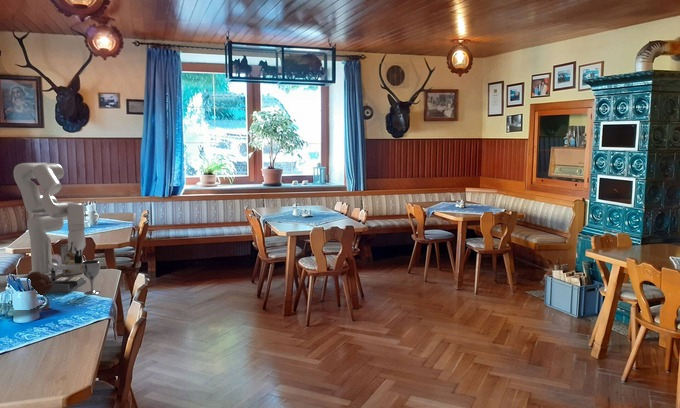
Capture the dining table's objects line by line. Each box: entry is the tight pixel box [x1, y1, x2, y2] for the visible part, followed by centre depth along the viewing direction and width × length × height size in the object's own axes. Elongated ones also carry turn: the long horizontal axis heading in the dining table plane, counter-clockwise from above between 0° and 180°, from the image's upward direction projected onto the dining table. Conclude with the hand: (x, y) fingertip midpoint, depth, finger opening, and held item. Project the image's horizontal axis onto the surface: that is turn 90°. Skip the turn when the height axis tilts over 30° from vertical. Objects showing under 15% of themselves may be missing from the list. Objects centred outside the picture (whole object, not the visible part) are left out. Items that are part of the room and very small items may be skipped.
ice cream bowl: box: [26, 272, 53, 296], centre depth 228 cm, size 11×11×15 cm
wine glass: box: [82, 259, 101, 296], centre depth 246 cm, size 8×8×15 cm
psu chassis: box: [47, 271, 87, 294], centre depth 254 cm, size 19×15×8 cm
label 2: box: [69, 277, 81, 281], centre depth 258 cm, size 5×4×1 cm
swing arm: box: [48, 262, 82, 272], centre depth 257 cm, size 18×4×3 cm, turn 93°
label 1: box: [56, 277, 69, 281], centre depth 258 cm, size 5×4×1 cm
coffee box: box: [59, 243, 83, 277], centre depth 281 cm, size 9×6×16 cm
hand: (78, 263), depth 264 cm, fingers closed
